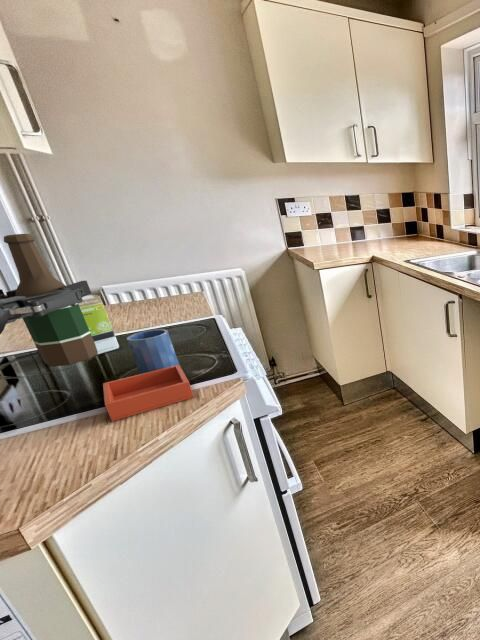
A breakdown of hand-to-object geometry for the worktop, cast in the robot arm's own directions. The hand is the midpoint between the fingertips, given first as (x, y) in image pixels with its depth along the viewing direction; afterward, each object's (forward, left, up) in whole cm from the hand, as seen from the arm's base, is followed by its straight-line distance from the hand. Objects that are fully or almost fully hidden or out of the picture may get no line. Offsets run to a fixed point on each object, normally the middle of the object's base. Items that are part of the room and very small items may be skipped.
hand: (63, 289), depth 83 cm
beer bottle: (+4, -2, -13) cm, 14 cm away
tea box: (-35, -3, -22) cm, 41 cm away
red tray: (+13, +7, -22) cm, 26 cm away
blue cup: (+1, +10, -22) cm, 24 cm away
